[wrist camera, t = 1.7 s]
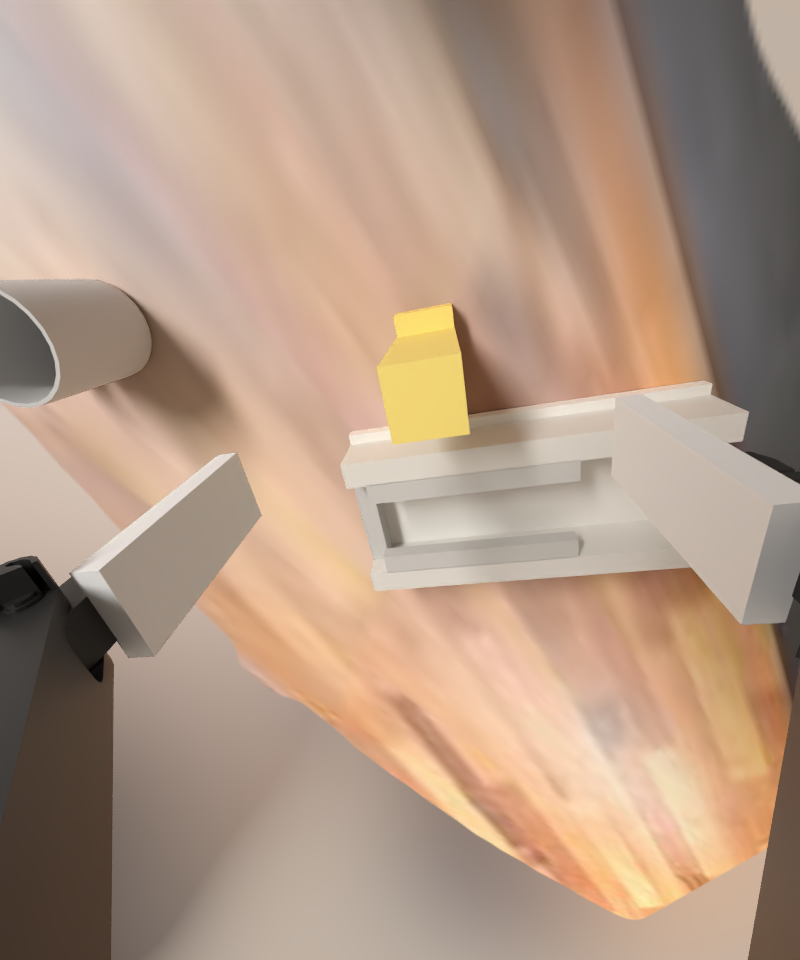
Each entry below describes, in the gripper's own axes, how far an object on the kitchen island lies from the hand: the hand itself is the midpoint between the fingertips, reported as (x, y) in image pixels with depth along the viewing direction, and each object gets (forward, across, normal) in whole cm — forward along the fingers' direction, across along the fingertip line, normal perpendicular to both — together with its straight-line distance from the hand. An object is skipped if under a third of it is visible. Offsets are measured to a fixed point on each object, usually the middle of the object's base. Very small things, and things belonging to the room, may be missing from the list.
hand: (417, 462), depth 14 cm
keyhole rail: (+18, +6, -12) cm, 23 cm away
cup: (+18, -26, +6) cm, 32 cm away
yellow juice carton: (+18, 0, 0) cm, 18 cm away
